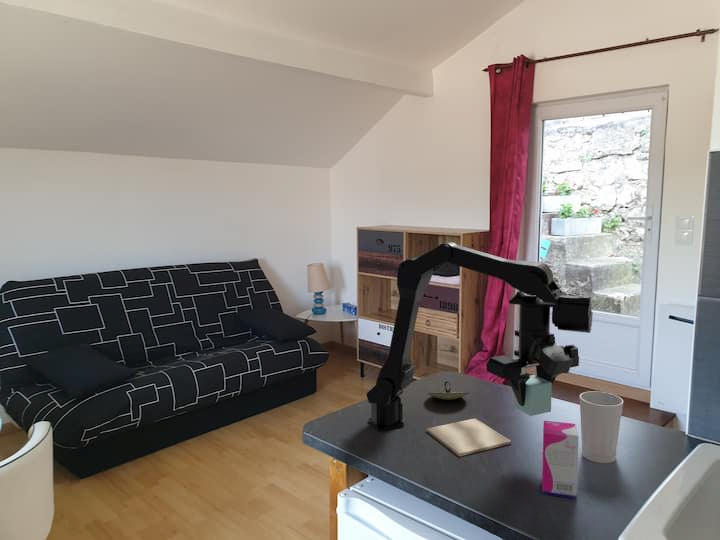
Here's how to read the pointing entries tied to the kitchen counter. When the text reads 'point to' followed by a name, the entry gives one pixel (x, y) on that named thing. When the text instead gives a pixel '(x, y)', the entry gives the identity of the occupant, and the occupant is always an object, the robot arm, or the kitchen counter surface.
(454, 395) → the lid
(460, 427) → the pad
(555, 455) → the supplement box
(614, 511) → the kitchen counter surface
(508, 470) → the kitchen counter surface
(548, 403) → the teal block
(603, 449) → the cup
